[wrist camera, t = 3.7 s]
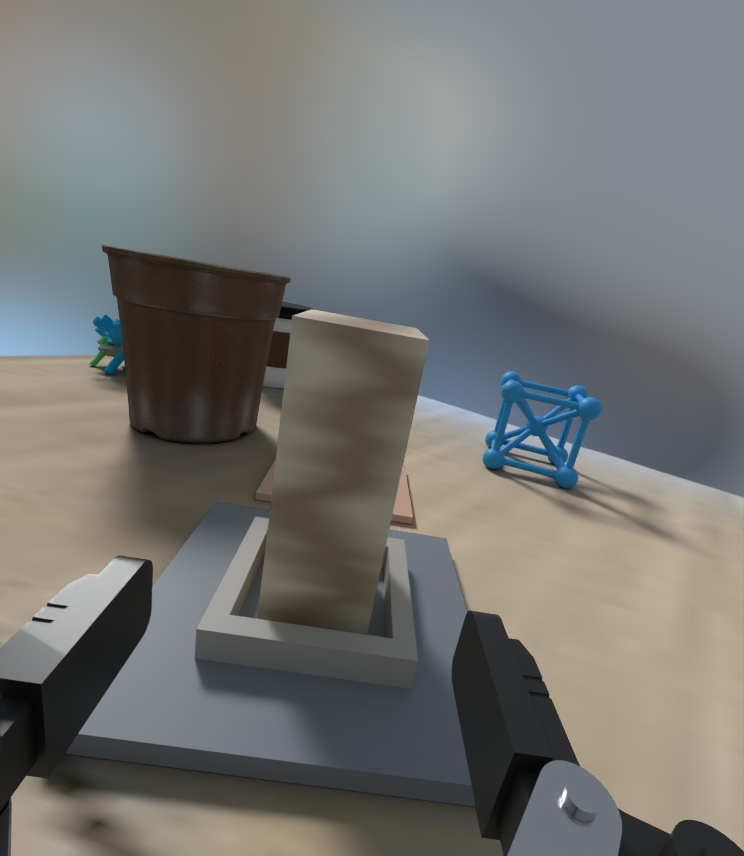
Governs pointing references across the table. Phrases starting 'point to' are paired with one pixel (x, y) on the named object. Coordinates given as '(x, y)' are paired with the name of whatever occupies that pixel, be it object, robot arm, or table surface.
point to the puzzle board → (292, 675)
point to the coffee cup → (281, 345)
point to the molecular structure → (540, 427)
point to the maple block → (337, 467)
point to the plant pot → (193, 343)
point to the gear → (109, 342)
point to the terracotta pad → (401, 507)
